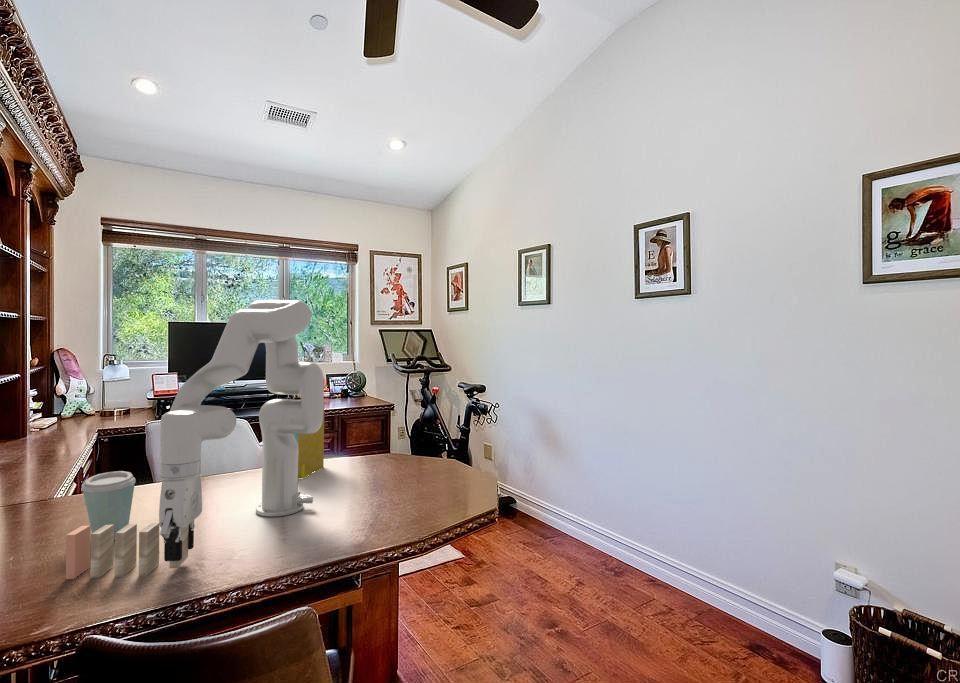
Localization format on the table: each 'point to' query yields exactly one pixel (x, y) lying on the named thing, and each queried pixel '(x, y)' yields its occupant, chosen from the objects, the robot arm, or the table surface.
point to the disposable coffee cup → (109, 499)
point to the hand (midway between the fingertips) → (179, 553)
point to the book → (310, 451)
